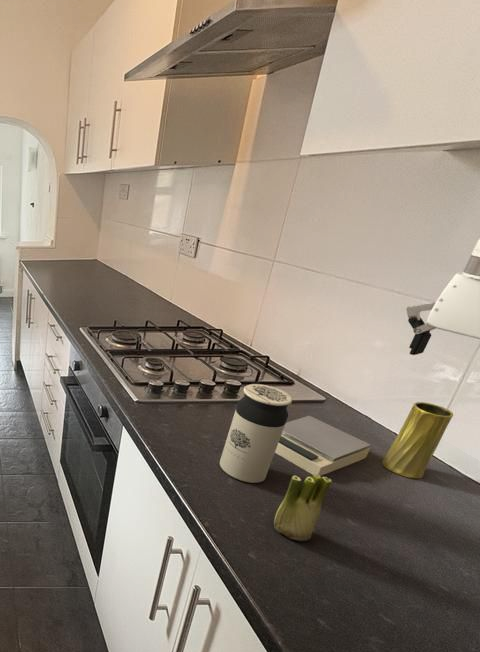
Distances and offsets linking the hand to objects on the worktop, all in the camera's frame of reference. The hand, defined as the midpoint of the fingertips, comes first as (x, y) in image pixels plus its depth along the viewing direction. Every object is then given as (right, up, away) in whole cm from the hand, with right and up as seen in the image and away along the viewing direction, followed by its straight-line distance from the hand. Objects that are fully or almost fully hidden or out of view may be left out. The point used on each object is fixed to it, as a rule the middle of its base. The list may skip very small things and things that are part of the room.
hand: (450, 363), depth 75 cm
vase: (+1, -22, +10) cm, 24 cm away
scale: (-13, -19, +15) cm, 28 cm away
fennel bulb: (-33, -29, -5) cm, 44 cm away
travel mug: (-32, -22, +9) cm, 40 cm away
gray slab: (-11, -17, +15) cm, 25 cm away
